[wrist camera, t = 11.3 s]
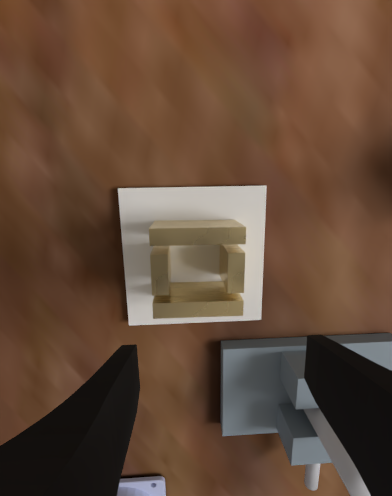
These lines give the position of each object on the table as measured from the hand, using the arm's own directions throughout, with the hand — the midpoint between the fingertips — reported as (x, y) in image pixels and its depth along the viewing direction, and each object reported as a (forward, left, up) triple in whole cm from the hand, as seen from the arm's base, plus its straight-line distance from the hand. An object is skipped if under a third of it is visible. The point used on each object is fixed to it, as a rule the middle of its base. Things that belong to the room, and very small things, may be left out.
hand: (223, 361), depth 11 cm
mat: (-1, +2, -9) cm, 10 cm away
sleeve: (-1, +2, -9) cm, 9 cm away
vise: (+8, -11, -9) cm, 16 cm away
